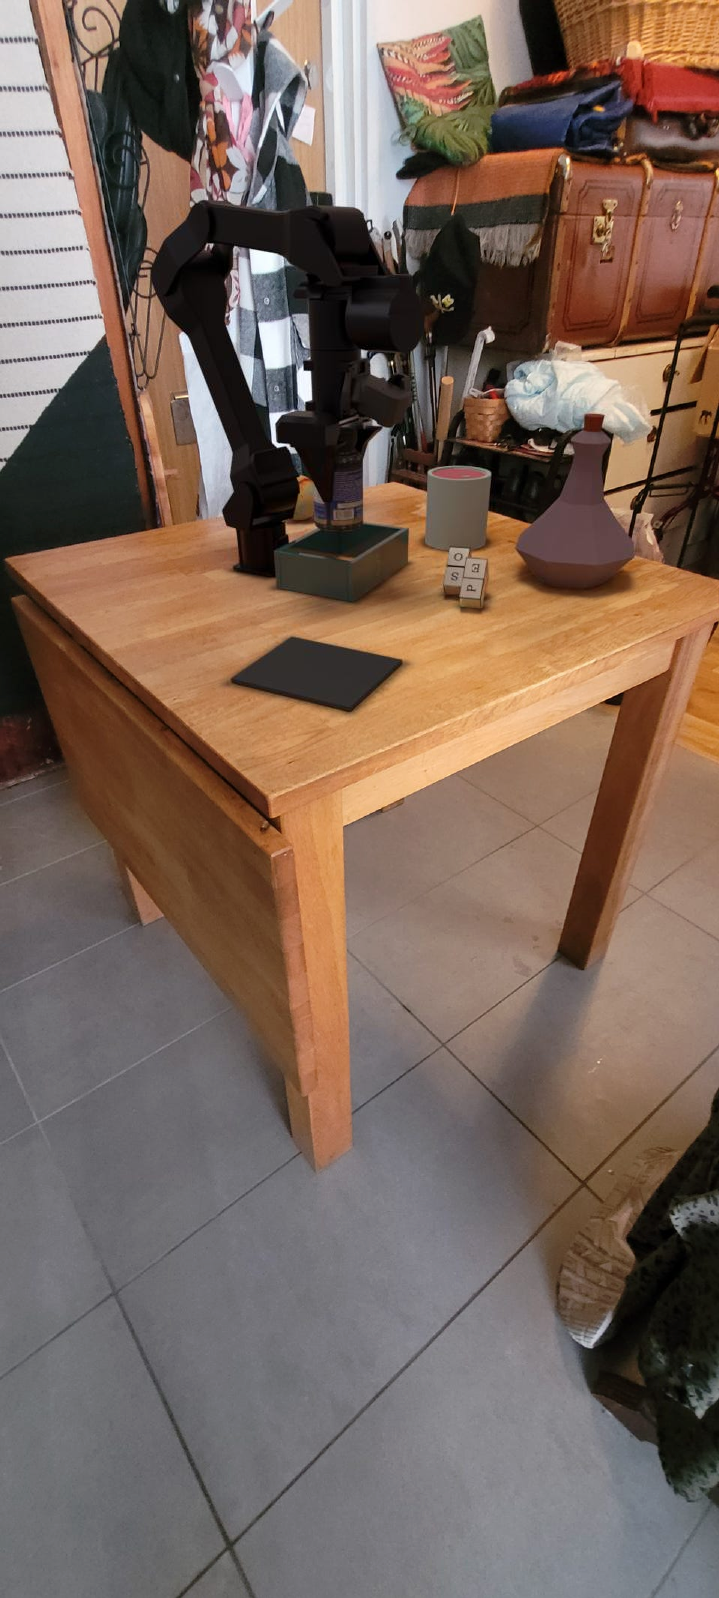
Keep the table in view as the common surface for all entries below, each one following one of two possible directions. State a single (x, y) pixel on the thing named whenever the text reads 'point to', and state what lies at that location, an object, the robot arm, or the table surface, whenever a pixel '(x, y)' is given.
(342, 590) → the teal open box
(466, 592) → the building blocks
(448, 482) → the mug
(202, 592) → the table surface
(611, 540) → the flask
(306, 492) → the ball
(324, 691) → the mat
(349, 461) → the pill bottle
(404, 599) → the table surface
